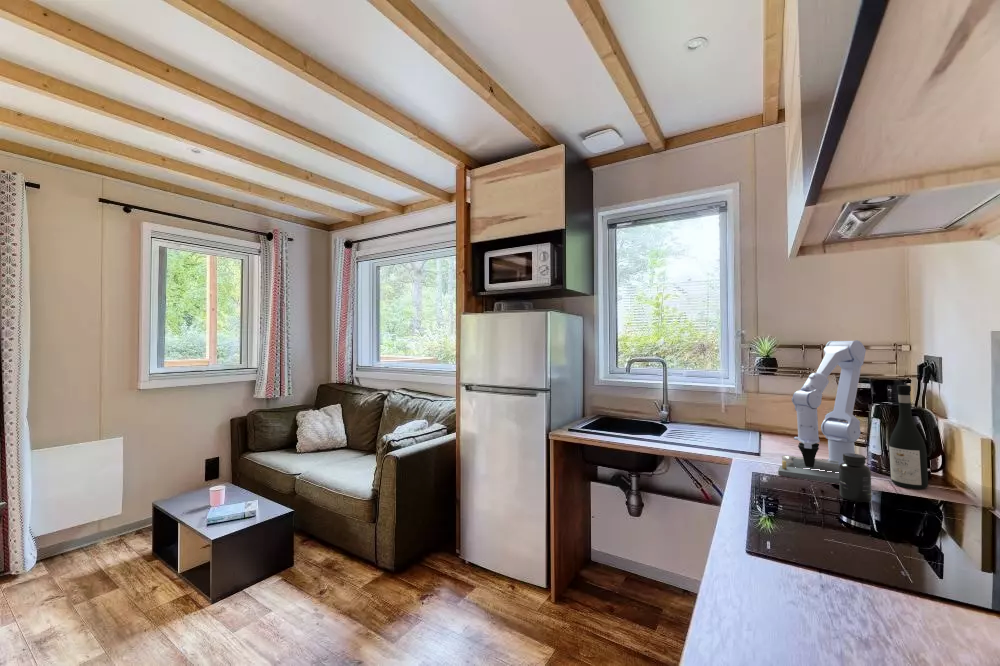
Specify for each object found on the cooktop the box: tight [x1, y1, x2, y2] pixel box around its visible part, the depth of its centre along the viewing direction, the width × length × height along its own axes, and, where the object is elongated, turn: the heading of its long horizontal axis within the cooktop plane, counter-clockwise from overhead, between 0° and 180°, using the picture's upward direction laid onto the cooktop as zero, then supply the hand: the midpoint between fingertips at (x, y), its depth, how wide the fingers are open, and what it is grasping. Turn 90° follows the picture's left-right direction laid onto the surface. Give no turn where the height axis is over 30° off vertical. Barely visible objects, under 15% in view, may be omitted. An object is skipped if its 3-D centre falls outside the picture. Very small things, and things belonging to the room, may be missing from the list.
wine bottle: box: [888, 384, 929, 490], centre depth 127 cm, size 8×8×30 cm
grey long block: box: [781, 455, 839, 472], centre depth 145 cm, size 5×16×4 cm, turn 53°
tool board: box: [777, 460, 839, 484], centre depth 136 cm, size 7×22×4 cm, turn 52°
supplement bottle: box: [838, 453, 873, 503], centre depth 118 cm, size 7×7×12 cm
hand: (809, 465), depth 145 cm, fingers closed on grey long block, 3 cm apart
